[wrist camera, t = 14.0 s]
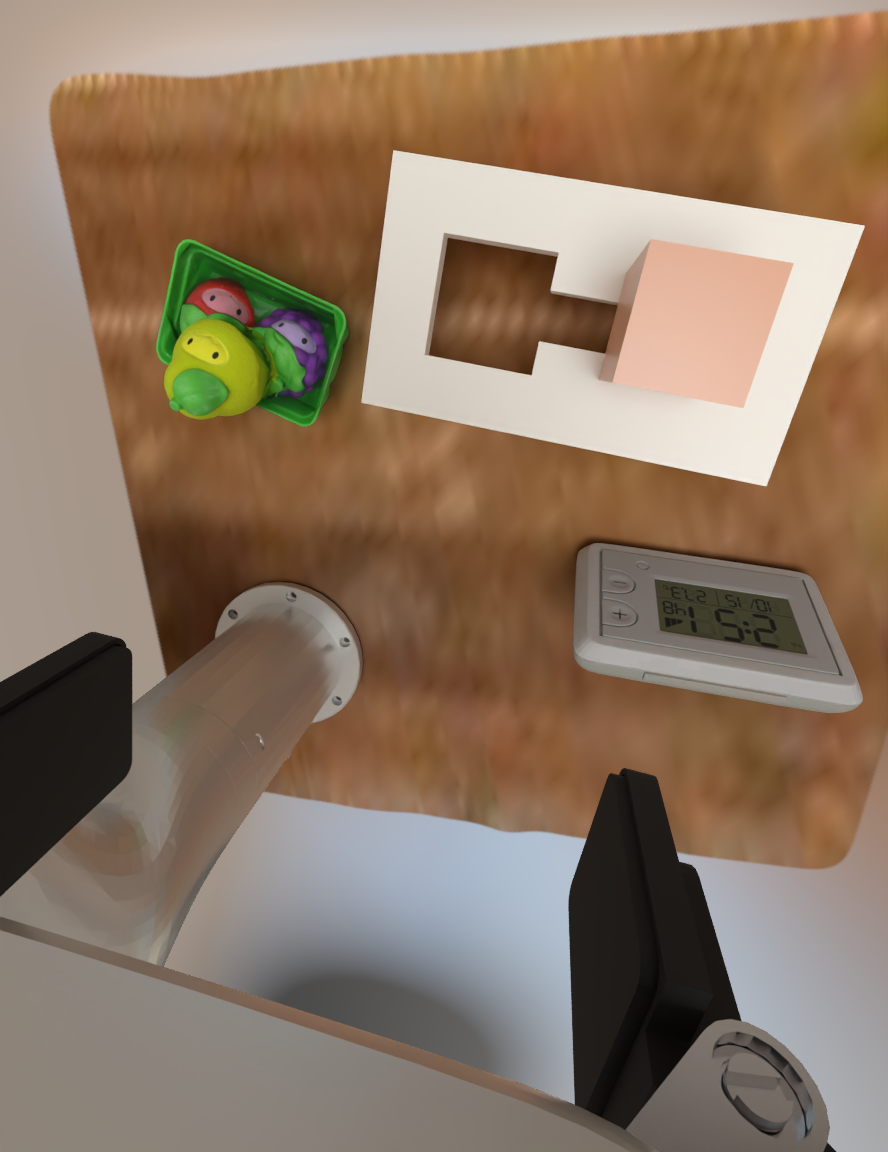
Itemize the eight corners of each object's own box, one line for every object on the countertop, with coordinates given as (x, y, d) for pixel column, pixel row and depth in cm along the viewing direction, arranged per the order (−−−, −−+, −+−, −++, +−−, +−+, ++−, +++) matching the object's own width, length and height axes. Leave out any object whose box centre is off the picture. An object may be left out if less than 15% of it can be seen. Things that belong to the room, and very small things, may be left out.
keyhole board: (721, 461, 39) (766, 486, 31) (400, 396, 41) (361, 402, 33) (790, 260, 35) (864, 225, 27) (429, 199, 37) (393, 150, 29)
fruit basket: (374, 318, 40) (310, 299, 30) (332, 440, 43) (261, 462, 33) (222, 249, 40) (106, 207, 30) (192, 376, 44) (78, 377, 33)
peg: (683, 396, 33) (743, 408, 23) (594, 379, 34) (612, 382, 23) (714, 298, 31) (793, 263, 21) (619, 282, 32) (650, 239, 21)
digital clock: (824, 577, 41) (912, 644, 31) (760, 685, 44) (820, 777, 34) (598, 498, 42) (611, 539, 32) (551, 610, 45) (550, 678, 35)
